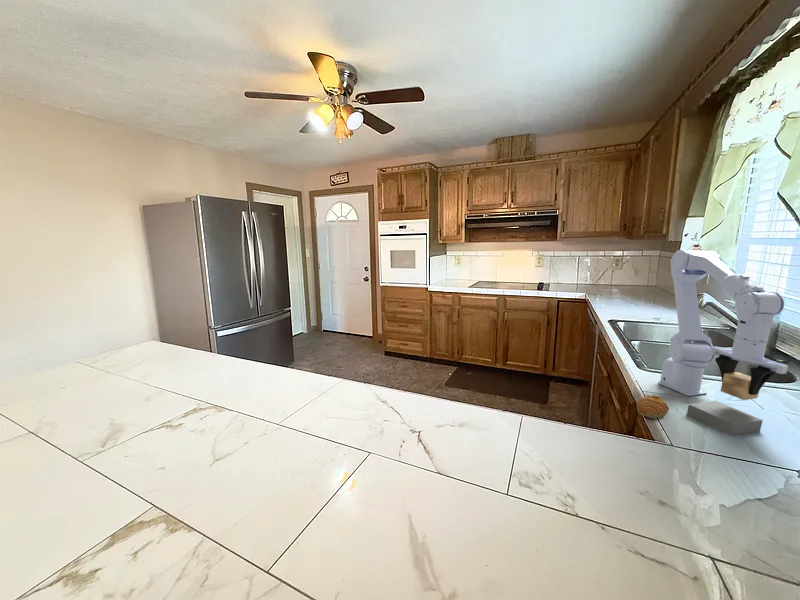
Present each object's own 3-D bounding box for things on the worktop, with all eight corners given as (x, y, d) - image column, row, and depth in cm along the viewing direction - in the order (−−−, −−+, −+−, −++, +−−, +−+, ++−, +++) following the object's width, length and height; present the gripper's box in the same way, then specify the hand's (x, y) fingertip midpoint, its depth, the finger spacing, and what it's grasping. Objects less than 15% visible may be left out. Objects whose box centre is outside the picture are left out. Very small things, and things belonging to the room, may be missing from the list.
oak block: (720, 391, 88) (724, 373, 87) (733, 389, 89) (737, 372, 88) (743, 400, 83) (748, 381, 82) (757, 398, 85) (761, 379, 84)
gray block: (686, 414, 89) (688, 404, 89) (713, 410, 92) (715, 400, 91) (731, 435, 80) (733, 424, 79) (759, 431, 82) (762, 420, 82)
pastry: (661, 424, 84) (663, 410, 84) (630, 413, 89) (632, 400, 89) (669, 412, 90) (671, 399, 90) (639, 403, 95) (641, 390, 95)
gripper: (801, 347, 78) (787, 400, 80) (727, 330, 91) (717, 376, 94) (781, 348, 76) (767, 403, 78) (709, 331, 90) (699, 378, 92)
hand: (739, 389), depth 86 cm, fingers closed on oak block, 5 cm apart
